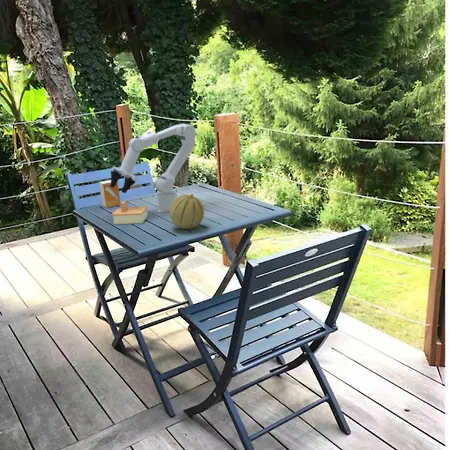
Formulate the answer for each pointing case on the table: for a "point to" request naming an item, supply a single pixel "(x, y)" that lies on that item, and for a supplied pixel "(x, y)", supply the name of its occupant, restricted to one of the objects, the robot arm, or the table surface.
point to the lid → (129, 210)
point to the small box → (109, 194)
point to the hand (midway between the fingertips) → (117, 189)
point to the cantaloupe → (186, 211)
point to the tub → (130, 218)
